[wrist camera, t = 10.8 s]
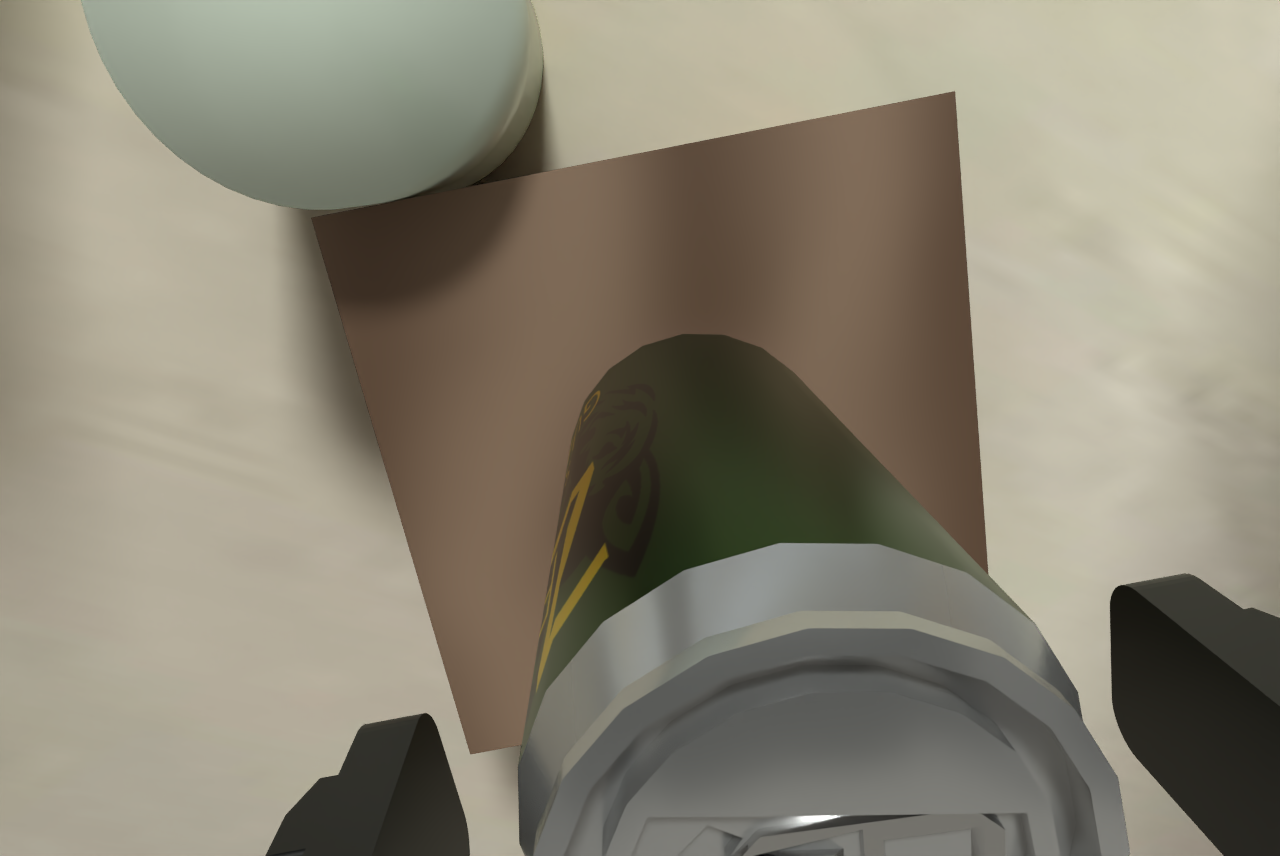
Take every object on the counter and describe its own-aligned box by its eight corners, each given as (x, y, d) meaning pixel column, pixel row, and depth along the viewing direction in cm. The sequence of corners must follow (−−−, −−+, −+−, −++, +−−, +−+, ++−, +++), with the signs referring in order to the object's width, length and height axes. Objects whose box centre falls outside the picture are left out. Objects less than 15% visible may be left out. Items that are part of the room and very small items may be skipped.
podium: (863, 112, 22) (955, 90, 16) (907, 549, 26) (993, 656, 20) (385, 206, 22) (311, 217, 17) (498, 627, 26) (470, 754, 20)
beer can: (806, 310, 18) (1173, 550, 6) (824, 543, 19) (1145, 1088, 8) (553, 345, 18) (440, 649, 6) (591, 575, 19) (558, 1167, 8)
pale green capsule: (508, -127, 20) (452, -309, 13) (568, 169, 22) (552, 168, 15) (226, -70, 20) (2, -216, 13) (313, 220, 22) (164, 244, 15)
